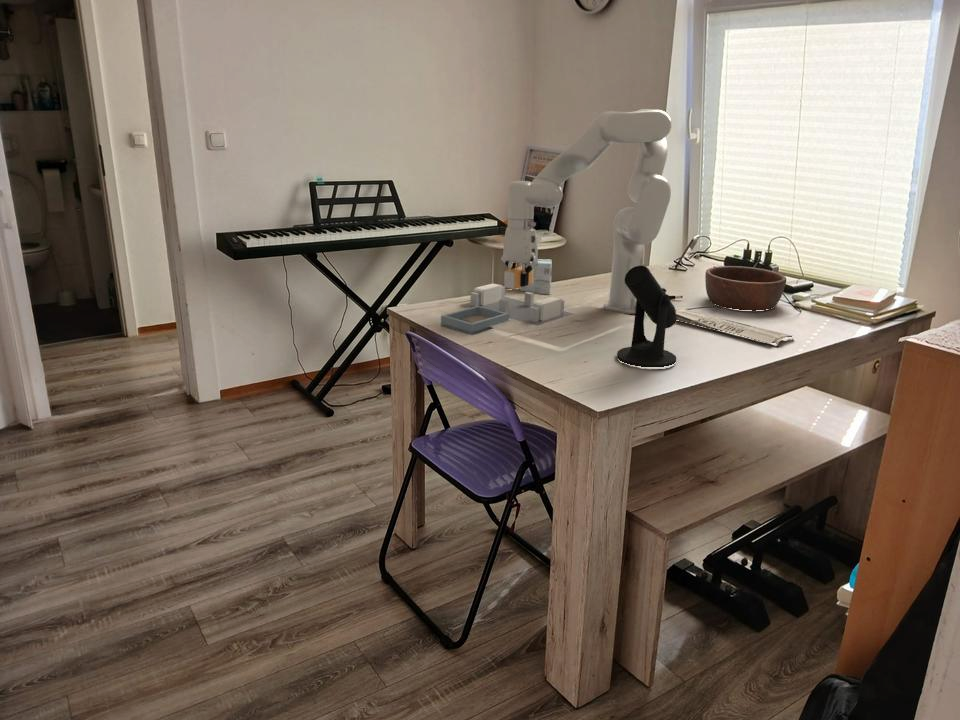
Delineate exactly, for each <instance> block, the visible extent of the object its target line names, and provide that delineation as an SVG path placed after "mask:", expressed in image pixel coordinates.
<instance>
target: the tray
mask: <svg viewBox="0 0 960 720" xmlns="http://www.w3.org/2000/svg"><path fill="white" fill-rule="evenodd" d="M477 314H478V315H482V316H486V317H488V318H485V319H481V320H477V321H475V322H473V321H471V320H466V319H464V318H467V317H471V316H475V315H477ZM508 321H510V318H509V313H505V312H501V311H497V310H493V309H489V308H485V307H481V306H475V307H471V308H469V307H467V308H464V309H461V310H457V311H453V312H450V313H446V314H443V315H440V326H441V327H443V328H446V329H450V330H454V331H456V332H460V333H464V334H467V335H470V336H473V335H478V334H480V333H483V332H487V331H490V330H492V329H494V326H495V325H499V324H502V323H506V322H508ZM492 326H493V327H492Z"/></svg>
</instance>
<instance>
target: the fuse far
mask: <svg viewBox="0 0 960 720" xmlns="http://www.w3.org/2000/svg"><path fill="white" fill-rule="evenodd" d="M502 286H503V285H502V284H497V283H489V284H486V285H481V286H477V287H475V288H473V292H476V293H480V303H479V305H483V306H484V305H487V304H491V303H494V302H498V301H499V300H500V299H502Z"/></svg>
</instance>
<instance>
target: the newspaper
mask: <svg viewBox="0 0 960 720" xmlns="http://www.w3.org/2000/svg"><path fill="white" fill-rule="evenodd" d="M675 310H676V317H677V320H679V321H683V322H687V323H691V324H695V325H699V326H703V327H706V328H705V329H707V328H711V329H715V330H720V331H725V332H729V333H733V334H737V335H740V336H744V337H747V338H751V339H754V340H758V341H762V342H765V343H769V344H770V343H776V344H778V345H779V343H780V342H781V341H780V340H781V339H783V338H785V337H792V336H793V335H792V334H791V335H790V334H787V333H783V332H779V331H774V330H771V329H767V328H763V327H757V326H755V325H754V326H753V325H749V324H746V323H741V322H737V321H732V320H729V319H724V318H722V317H716V316H713V315H710V314H709V315H708V314H707V313H701V312H698V311H694V310H690V309H686V308H681V309H680V308H679V309H675ZM679 321H678V322H679ZM683 322H682V323H683ZM687 323H686V324H687ZM691 324H690V325H691ZM695 325H694V326H695ZM699 326H698V327H699ZM703 327H702V328H703ZM711 329H710V330H711ZM765 343H764V344H765ZM769 344H768V345H769Z"/></svg>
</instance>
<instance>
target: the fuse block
mask: <svg viewBox="0 0 960 720" xmlns="http://www.w3.org/2000/svg"><path fill="white" fill-rule="evenodd" d="M534 298H535V293H531V292H526V291H525V292H524V301H523V300H520V299H515V298H511V297H506V287H504V285H502V299H500V300H499V301H498V302H494V303H491V304H487V305H484V306H483V305H479V303H480V293H476V292H474V291H473V292H470V300H469V301H470V302H467V303H463V304H460V306H461V307H466V308H471V307H475V306H481V307H485V308H489V309H493V310H497V311H501V312H505V313H509V319H511V320H514V321H515V320H516V321H519V322H523V323H526V324H531V325H534V326H540V325H543V324H547V323H550V322H553V321H555V320H559V319H561V318H565V317H568V316H571V315H574V312H569V311H565V300H564V299H562V306H561V314H560V315H559V316H556V317H553V318H550V319H547V320H544V321H542V320H539V312H540V308H538V307H534V306H533V303H534V302H535V299H534Z"/></svg>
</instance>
